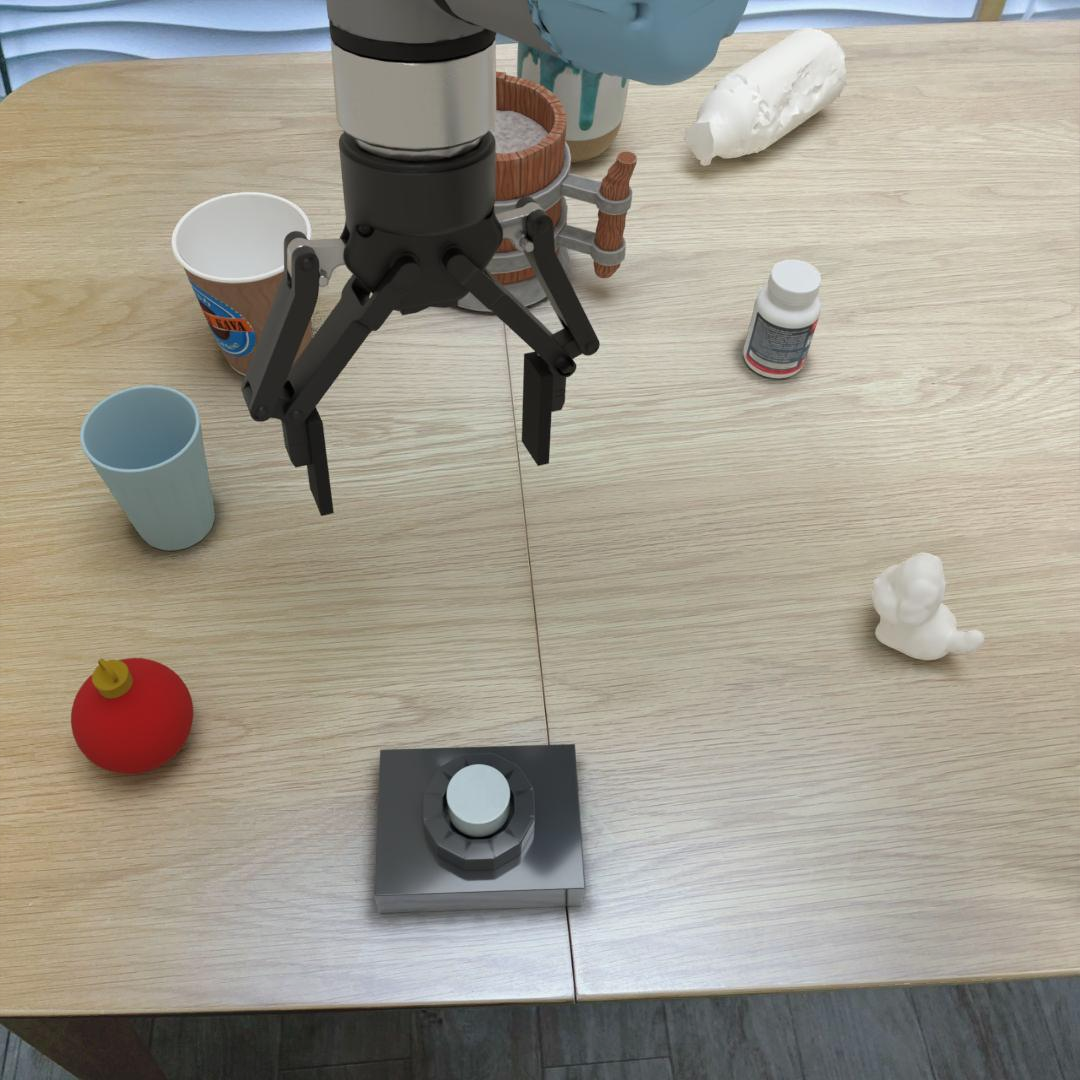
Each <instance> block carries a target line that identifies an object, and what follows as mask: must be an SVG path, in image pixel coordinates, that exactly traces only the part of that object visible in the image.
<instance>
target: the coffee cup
mask: <svg viewBox="0 0 1080 1080" xmlns="http://www.w3.org/2000/svg"><path fill="white" fill-rule="evenodd" d="M293 231H300V232H302V233H304V234H305V236H306V237H307V239H308V240H312V238H313V237H312V236H313V228H312V224H311V222H310V219H309V217H308V215H307V214H306V213H305V212H304V211H303V210H302V208H300V207H299V206H298V204H295V203H294V202H292V201H290V200H288V199H287V198H285V197H282V196H279V195H276V194H271V193H267V192H260V191H259V192H258V191H242V192H233V193H226V194H222V195H219V196H216V197H213V198H210V199H207V200H205V201H203V202H201V203H199V204H197V205H196V206H194V207H193V208H191V209H190V210H188V211H187V212H186V213H185V214H184V215H183V216H182V217H181V218H180V219H179V220H178V222H177V223H176V225H175V227H174V228H173V232H172V234H171V235H172V236H171V250H172V251H171V252H172V254H173V256H174V258H175V259H176V261H177V262H178V263H179V264H180V265H181V266H182V267H183V270H184V272H185V274H186V276H187V279H188V282H189V284H190V285H191V288H192V290H193V292H194V293H193V294H194V295H195V297H196V299H197V301H198V303H199V306H200V308H201V310H202V313H203V315H204V318H205V320H206V322H207V324H208V327H209V328H210V331H211V333H212V335H213V338H214V339H215V341H216V343H217V344H218V347H219V349H220V352H221V354H222V355H223V357H224V358H225V359H226V361H227V363H228V364H229V366H230V367H231V368H232V369H233V371H235V372H237V373H238V374H240V375H241V376H244V377H245V375H246V373H247V370H248V367H249V365H250V362H251V359H252V357H253V354H254V352H255V349H256V346H257V344H258V341H259V338H260V336H261V333H262V330H263V328H264V325H265V323H266V320H267V317H268V315H269V312H270V309H271V307H272V304H273V301H274V299H275V296H276V293H277V291H278V288H279V286H280V283H281V280H282V278H283V275H284V239H285V237H286V236H287V234H289V233H290V232H293ZM312 333H313V332H312V319H311V320H310V322H309V325H308V327H307V330H306V332H305V335H304V337H303V340H302V342H301V345H300V347H299V350H298V352H297V355H296V357H295V360H294V362H293V365H294V363H295V362H296V361H297V359H298V358H299V356H300V355H301V354H302V352H303V351H304V349H305V348H306V347H307V345H308V344H309V342H310V341H311V340H312V338H313V337H312V336H313V335H312ZM293 365H292V366H293ZM291 368H292V367H291Z"/></svg>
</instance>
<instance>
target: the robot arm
mask: <svg viewBox="0 0 1080 1080" xmlns="http://www.w3.org/2000/svg"><path fill="white" fill-rule="evenodd" d="M749 1H750V0H325V2H326V13H327V19H328V22H329V23H328V24H329V27H328V28H329V36H330V51H331V62H332V74H333V75H332V77H333V88H334V101H335V113H336V121H337V124H338V126H339V127H340V128H341V129H342V130H343V132H342V133H341V135H340V137H339V140H338V150H339V160H340V171H341V181H342V182H341V183H342V193H343V204H344V215H345V216H344V217H345V221H344V227H343V229H342V232H341V234H340V236H339V238H325V239H323V238H322V239H311V240H308V239H307V237H306V236H305V234H304V233H302V232H300V231H293V232H290V233H289V234H287V236H286V237H285V239H284V275H283V278H282V280H281V283H280V286H279V288H278V291H277V293H276V296H275V299H274V301H273V304H272V307H271V309H270V312H269V315H268V317H267V320H266V323H265V325H264V328H263V330H262V333H261V336H260V338H259V341H258V344H257V346H256V349H255V352H254V354H253V357H252V359H251V362H250V365H249V367H248V370H247V373H246V375H245V376H244V378H243V380H242V383H241V386H240V391H241V393H242V396H243V400H244V403H245V405H246V408H247V410H248V413H249V415H250V418H251V419H252V420H253V421H254V422H258V423H263V422H266V421H268V420H270V419H276V420H280V422H281V429H282V435H283V436H282V437H283V442H284V447H285V450H286V452H287V456H288V457H289V460H290V463H291V464H292V465H293V466H294V468H301V467H305V466H306V470H307V476H308V484H309V490H310V492H311V494H312V497H313V499H314V502H315V504H316V507H317V509H318V513H319V514H320V517H324V516H328V515H332V514H335V512H334V503H333V496H332V495H333V494H332V486H331V479H330V471H329V463H328V454H327V447H326V438H325V431H324V422H323V419H322V417H321V415H320V412H319V411H318V409H317V406H318V404H319V403H320V402H321V400H322V399H323V397H324V396H325V395H326V393H327V392H328V391H329V389H330V388H331V386H333V384H334V382H335V381H336V380H337V379H338V377H339V376H340V375H341V373H342V372H343V370H344V369H345V367H346V366H347V365H348V364H349V362H350V361H351V359H353V357H354V355H355V354H356V353H357V352H358V350H360V349H359V348H361V346H362V345H363V343H364V342H365V341H366V339H367V338H368V337H369V335H370V334H371V333H372V332H377V331H378V330H379V329H381V327H383V325H384V323H385V322H386V320H387V319H388V318H389V317H390V315H391V314H392V312H394V311H395V312H399V313H400V314H401V316H407V315H412V314H417V313H419V312H422V311H424V310H426V309H428V308H441V309H446V308H452V307H459V306H458V301H459V300H461V299H463V298H464V297H465V296H466V295H467V294H468V293H469V292H470V293H471V294H473V295H474V296H475V297H476V298H477V299H478V300H479V301H480V302H481V303H482V304H483V305H484V306H485V307H486V308H488V309H489V310H491V311H492V312H491V313H493V314H494V315H495V316H496V317H497V318H498V319H500V320H501V321H502V322H503V323H504V324H505V325H506V326H507V327H508V328H509V329H510V330H511V331H513V333H515V334H516V335H517V337H519V338H520V339H521V340H522V341H523V342H524V343H525V344H526V345H527V346H529V347H530V348H531V349H532V350H533V351H530V352H525V353H523V374H522V375H523V376H522V377H523V378H522V411H521V412H522V413H521V414H522V415H521V443H522V445H523V446H524V447H525V449H526V450H527V452H528V453H529V455H530V456H531V458H532V460H533V461H534V463H535V464H536V465H537V467H539V466H544V465H549V464H550V453H551V451H550V450H551V433H552V431H551V430H552V413H553V412H558V411H562V409H563V407H564V405H565V403H566V390H567V389H566V388H567V378H569V377H571V376H573V375H574V373H576V370H577V363H576V362H575V360H574V359H575V358H577V357H579V356H581V355H583V356H586V357H587V356H588V357H589V356H592V355H593V356H594V354H596V353H597V352H598V351H599V349H600V345H601V343H600V340H599V338H598V336H597V334H596V332H595V330H594V327H593V325H592V324H591V322H590V319H589V318H588V315H587V314H586V311H585V308H584V307H583V305H582V304H581V301H580V299H579V298H578V294H577V293H576V291H575V289H574V288H573V285H572V283H571V281H570V279H569V277H568V274H566V273H565V271H564V269H563V267H562V265H561V263H560V261H559V259H558V257H557V255H556V253H555V242H554V228H553V221H552V219H551V218H550V217H549V216H548V215H547V213H546V212H545V211H544V210H543V209H542V208H541V207H540V205H539V204H537V202H536V201H535V200H534V199H533V198H532V197H529V196H524V197H522V198H520V199H519V200H518V201H517V203H516V205H515V209H513V210H510V211H506V212H502V213H498V214H495V211H494V204H495V161H496V142H495V138H494V136H493V134H492V133H491V132H490V131H489V130H490V129H491V128H492V127H493V126H494V124H495V120H496V72H497V54H496V53H497V49H496V48H497V47H496V45H497V41H496V40H497V39H496V36H497V34H498V35H501V36H503V37H506V38H508V39H511V40H513V41H516V42H517V43H518V42H520V43H523V44H525V45H528V46H530V47H533V48H535V49H538V50H540V51H543V52H545V53H548V54H550V55H553V56H555V57H557V58H560V59H562V60H563V61H565V62H566V63H570V64H571V65H573V66H574V67H575V68H578V69H580V70H582V69H585V70H586V71H588V72H591V73H594V74H597V73H600V72H603V73H605V74H607V75H610V76H619V77H623V78H626V79H629V81H634V82H638V83H641V84H646V85H649V86H657V87H658V86H659V87H661V86H662V87H664V86H665V87H666V86H672V85H675V84H679V83H682V82H685V81H687V80H689V79H691V78H694V77H695V76H696V75H699V73H701V72H702V71H704V69H706V68H707V67H708V66H710V65H711V64H712V63H713V61H714V60H715V58H716V57H717V53H718V50H719V47H720V44H721V41H722V40H724V39H726V38H730V37H732V36H733V34H734V33H735V31H736V29H737V27H738V26H739V24H740V23H741V21H742V18H743V16H744V14H745V11H746V10H747V7H748V3H749ZM503 239H509V241H510V242H511V243H512V244H513V246H514V247H515V248H516V249H517V250H518V251H521V252H524V254H525V256H526V258H527V259H528V261H529V263H530V265H531V267H532V269H533V271H534V273H535V275H536V277H537V279H538V281H539V282H540V284H541V286H542V288H543V290H544V292H545V294H546V296H547V297H546V298H547V300H548V301H549V303H550V305H551V308H552V309H553V312H554V313H555V315H556V317H557V319H558V321H559V322H560V325H561V326H562V329H559V330H558V331H555V332H554V333H553V332H551V330H550V329H549V328H548V327H546V325H544V323H542V321H541V320H539V318H537V317H536V316H535V315H534V314H533V313H532V312H531V311H530V310H529V309H528V308H527V306H526V307H525V306H524V305H523V304H522V303H521V302H520V301H519V300H517V299H516V298H515V297H514V296H513V295H512V294H511V293H510V292H509V291H508V290H507V289H506V288H505V287H504V286H503V285H502V284H501V283H500V282H499V281H498V280H497V279H496V278H495V277H494V276H493V275H492V274H491V273H490V272H489V271H488V270H487V269H486V267H487V265H488V264H489V262H490V261H491V259H492V258H493V256H494V255H495V253H496V252H497V250H498V249H499V247H500V245H501V243H502V240H503ZM340 266H345V267H346V268H347V270H348V271H349V272H350V273H351V274H352V275H350V278H349V279H348V280H347V281H346V283H345V284H344V286H343V288H342V289H341V295H340V299H339V301H338V302H337V304H335V306H334V307H333V309H332V311H331V312H330V313H329V315H327V318H326V319H324V322H323V323H322V324H321V326H320V327H319V329H318V330H317V331H316V333H315V334H314V335H313V337H311V338H312V340H311V341H310V342H309V344H308V345H307V347H306V348H305V349H304V351H303V352H302V354H301V355H300V356H299V358H298V359H297V361H296V362H295V363H294V365H293V362H294V360H295V357H296V355H297V352H298V350H299V347H300V345H301V342H302V340H303V337H304V335H305V332H306V330H307V327H308V325H309V322H310V320H311V321H312V317H313V315H314V313H315V310H316V306H317V303H318V299H319V292H320V287H321V288H324V287H327V286H328V284H329V283H330V280H331V278H332V275H333V272H334V271H335V269H337V268H338V267H340ZM292 365H293V366H292ZM291 367H292V368H291Z"/></svg>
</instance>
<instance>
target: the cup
mask: <svg viewBox="0 0 1080 1080" xmlns="http://www.w3.org/2000/svg"><path fill="white" fill-rule="evenodd" d="M199 413H200V412H199V409H198V407H197V406H196V404H195V403H194V402H193V400H192V399H191V398H190V397H189V396H188V395H186V394H185V393H183V392H181V391H179V390H177V389H175V388H172V387H168V386H165V385H155V384H143V385H137V386H132V387H127V388H125V389H121V390H119V391H116V392H114V393H112V394H109V395H108V396H107V397H105V398H103V399H102V400H101V401H99V402H98V403H97V404H95V405H94V406H93V407H92V409H90V411H89V412H88V414H87V415H86V416H85V418H84V420H83V421H82V424H81V427H80V432H79V443H80V446H81V448H82V449H81V450H82V451H83V453H84V455H85V456H86V457H87V459H88V460H89V462H90V463H91V465H92V466H93V468H94V470H95V471H96V473H97V474H98V475H99V476H100V478H101V479H102V481H103V482H104V484H105V485H106V487H107V488H108V490H109V491H110V493H111V494H112V496H113V497H114V499H115V500H116V502H117V503H118V505H119V506H120V508H121V509H122V511H123V512H124V514H125V515H126V517H127V518H128V520H129V521H130V523H131V524H132V526H133V527H134V528H135V530H136V531H137V533H138V535H139V536H140V537H141V538H142V540H143V541H145V542H146V543H147V544H148V545H149V546H151V547H152V548H155V549H158V550H162V551H168V552H170V551H181V550H185V549H187V548H190V547H192V546H194V545H196V544H198V543H200V542H201V541H202V540H203V539H204V538H205V537H206V536H207V535H208V534H209V533H210V532H211V530H212V528H213V526H214V522H215V518H216V513H215V507H214V501H213V500H214V499H213V493H212V486H211V482H210V476H209V475H210V474H209V468H208V463H207V457H206V451H205V445H204V435H203V430H202V423H201V416H200V414H199Z"/></svg>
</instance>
